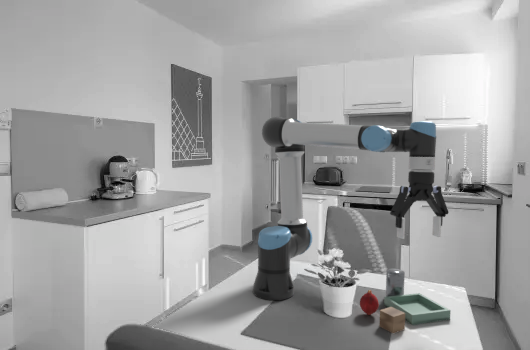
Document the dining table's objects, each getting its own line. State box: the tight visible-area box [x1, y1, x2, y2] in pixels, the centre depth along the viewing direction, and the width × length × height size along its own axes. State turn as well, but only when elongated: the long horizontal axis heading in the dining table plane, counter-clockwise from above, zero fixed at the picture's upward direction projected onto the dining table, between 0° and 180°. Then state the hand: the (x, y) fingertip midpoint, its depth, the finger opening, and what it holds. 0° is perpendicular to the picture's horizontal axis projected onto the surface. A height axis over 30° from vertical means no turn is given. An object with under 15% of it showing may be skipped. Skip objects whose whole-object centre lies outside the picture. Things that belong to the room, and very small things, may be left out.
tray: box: [383, 292, 451, 326], centre depth 114 cm, size 14×14×3 cm
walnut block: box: [378, 307, 406, 334], centre depth 104 cm, size 5×5×5 cm
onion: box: [359, 289, 380, 316], centre depth 112 cm, size 6×6×8 cm
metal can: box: [385, 268, 406, 297], centre depth 125 cm, size 6×6×10 cm
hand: (418, 237), depth 113 cm, fingers open, 13 cm apart
